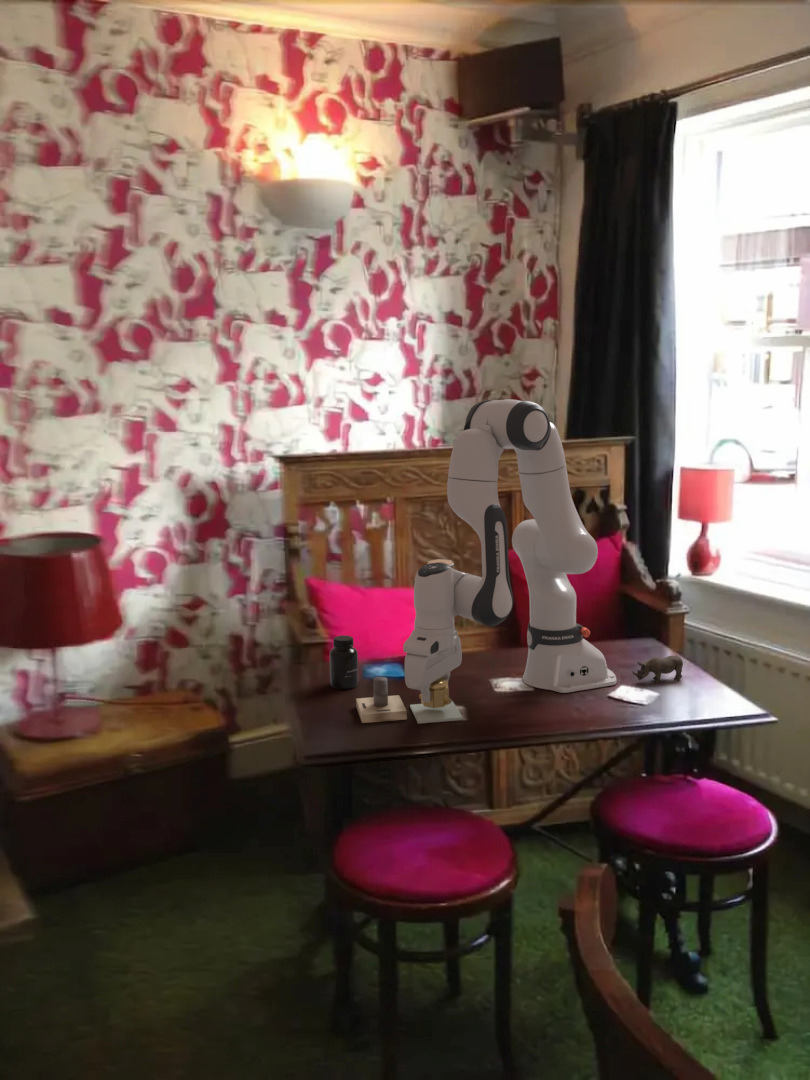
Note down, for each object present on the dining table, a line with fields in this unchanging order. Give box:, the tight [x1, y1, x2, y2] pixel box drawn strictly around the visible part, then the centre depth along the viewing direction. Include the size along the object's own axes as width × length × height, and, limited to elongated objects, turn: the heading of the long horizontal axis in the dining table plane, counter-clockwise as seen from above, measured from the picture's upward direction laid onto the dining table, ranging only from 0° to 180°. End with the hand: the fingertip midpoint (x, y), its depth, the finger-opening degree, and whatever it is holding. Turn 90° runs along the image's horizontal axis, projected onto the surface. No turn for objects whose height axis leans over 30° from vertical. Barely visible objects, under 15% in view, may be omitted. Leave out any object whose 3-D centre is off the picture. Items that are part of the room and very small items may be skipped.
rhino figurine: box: [632, 655, 684, 684], centre depth 246 cm, size 4×14×6 cm, turn 104°
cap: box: [418, 677, 452, 708], centre depth 227 cm, size 6×7×6 cm
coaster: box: [409, 700, 464, 725], centre depth 228 cm, size 10×10×1 cm
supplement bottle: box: [329, 635, 359, 690], centre depth 246 cm, size 7×7×12 cm
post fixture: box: [355, 676, 408, 724], centre depth 228 cm, size 10×10×8 cm
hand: (435, 696), depth 227 cm, fingers closed on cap, 6 cm apart
